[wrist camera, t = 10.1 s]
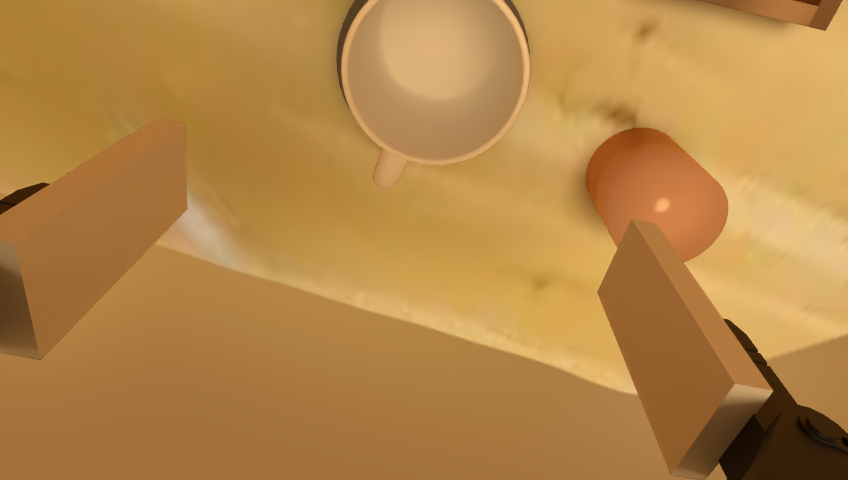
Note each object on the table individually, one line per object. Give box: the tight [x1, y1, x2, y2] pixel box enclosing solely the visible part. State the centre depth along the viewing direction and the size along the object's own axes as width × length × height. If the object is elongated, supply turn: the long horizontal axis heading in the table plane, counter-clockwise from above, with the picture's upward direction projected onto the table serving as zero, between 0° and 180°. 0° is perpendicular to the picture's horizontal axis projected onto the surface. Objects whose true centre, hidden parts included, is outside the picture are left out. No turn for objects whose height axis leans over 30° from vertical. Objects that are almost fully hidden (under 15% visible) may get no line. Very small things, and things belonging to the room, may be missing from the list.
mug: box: [341, 0, 530, 189], centre depth 28 cm, size 12×8×10 cm
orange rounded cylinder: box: [586, 128, 728, 262], centre depth 33 cm, size 6×6×7 cm
